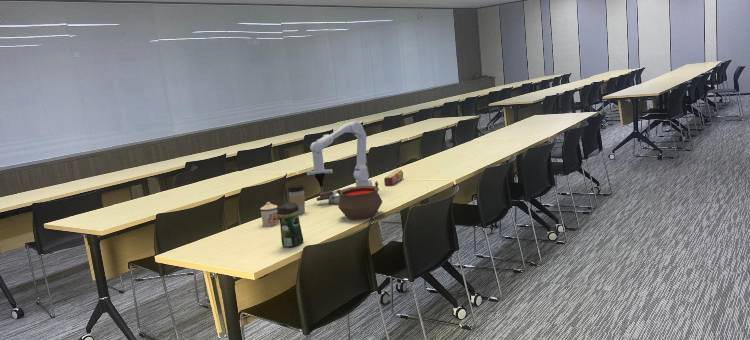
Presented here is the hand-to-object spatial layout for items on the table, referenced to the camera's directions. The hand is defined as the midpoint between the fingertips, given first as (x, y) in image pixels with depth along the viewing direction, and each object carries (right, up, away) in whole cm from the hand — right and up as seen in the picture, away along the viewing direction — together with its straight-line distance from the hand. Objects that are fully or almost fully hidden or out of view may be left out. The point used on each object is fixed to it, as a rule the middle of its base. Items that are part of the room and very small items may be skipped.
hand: (321, 186), depth 329 cm
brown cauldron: (+24, -14, -38) cm, 47 cm away
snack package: (+43, +1, +40) cm, 59 cm away
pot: (+8, -9, +1) cm, 13 cm away
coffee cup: (-11, -15, -16) cm, 24 cm away
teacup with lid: (-22, -19, -32) cm, 43 cm away
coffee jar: (-6, -24, -74) cm, 78 cm away
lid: (+8, -5, -2) cm, 9 cm away
